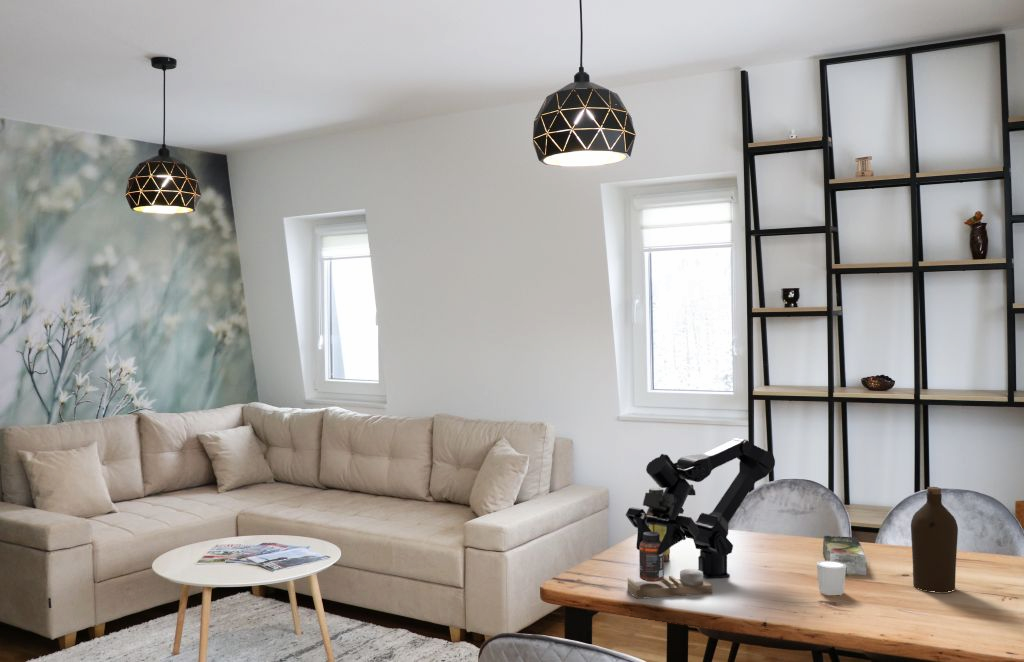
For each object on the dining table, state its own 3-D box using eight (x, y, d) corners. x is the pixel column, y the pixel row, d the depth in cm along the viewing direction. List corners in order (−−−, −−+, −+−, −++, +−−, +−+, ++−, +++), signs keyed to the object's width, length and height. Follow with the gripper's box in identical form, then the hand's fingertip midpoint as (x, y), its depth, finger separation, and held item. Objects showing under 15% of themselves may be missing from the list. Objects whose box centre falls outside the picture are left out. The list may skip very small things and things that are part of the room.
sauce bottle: (673, 558, 247) (673, 488, 247) (664, 563, 242) (664, 491, 242) (651, 555, 251) (651, 485, 251) (642, 560, 246) (642, 489, 245)
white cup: (832, 598, 212) (832, 569, 212) (810, 590, 218) (810, 562, 218) (852, 594, 215) (852, 565, 215) (830, 586, 221) (830, 558, 221)
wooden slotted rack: (701, 585, 222) (701, 567, 222) (712, 593, 216) (712, 575, 216) (627, 590, 218) (627, 572, 218) (636, 598, 212) (636, 579, 212)
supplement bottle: (668, 581, 214) (668, 535, 214) (646, 583, 213) (645, 537, 212) (657, 574, 220) (656, 529, 220) (635, 576, 218) (635, 531, 218)
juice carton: (869, 577, 229) (869, 553, 229) (829, 575, 232) (829, 552, 232) (858, 558, 249) (858, 536, 249) (821, 556, 251) (821, 534, 251)
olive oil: (966, 594, 214) (966, 492, 214) (922, 594, 214) (922, 492, 214) (945, 581, 225) (945, 483, 225) (903, 581, 225) (903, 484, 225)
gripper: (629, 475, 225) (603, 526, 218) (692, 484, 212) (666, 539, 205) (647, 501, 231) (622, 551, 223) (709, 511, 218) (685, 565, 210)
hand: (648, 551), depth 215 cm, fingers closed on supplement bottle, 6 cm apart
